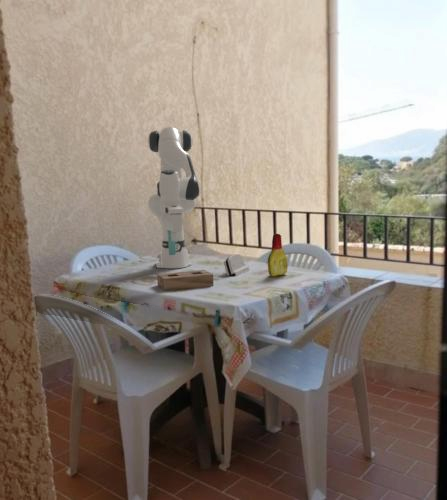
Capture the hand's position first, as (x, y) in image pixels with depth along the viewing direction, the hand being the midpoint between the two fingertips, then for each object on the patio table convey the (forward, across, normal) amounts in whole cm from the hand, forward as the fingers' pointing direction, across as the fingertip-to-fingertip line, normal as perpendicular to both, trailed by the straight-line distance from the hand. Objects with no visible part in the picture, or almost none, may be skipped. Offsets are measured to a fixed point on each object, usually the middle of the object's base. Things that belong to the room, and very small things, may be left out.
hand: (171, 240), depth 222 cm
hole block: (+20, 0, +6) cm, 21 cm away
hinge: (+21, -17, +37) cm, 46 cm away
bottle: (+21, -1, +52) cm, 55 cm away
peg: (+6, 0, 0) cm, 6 cm away
